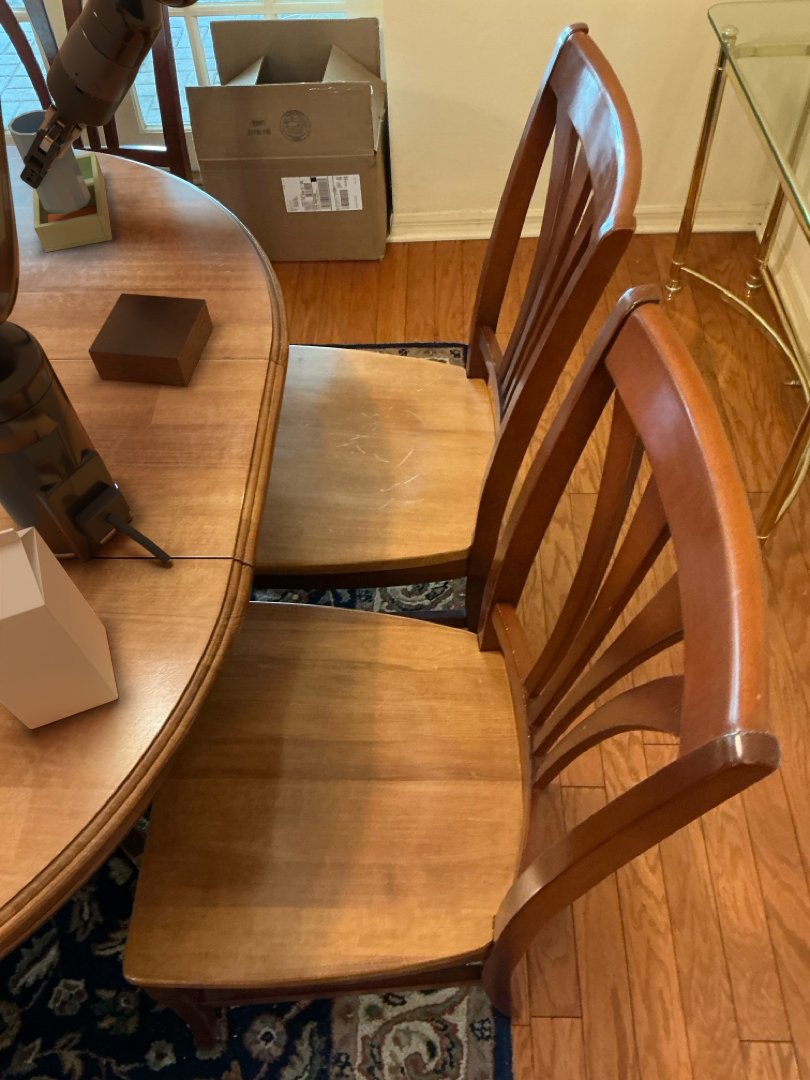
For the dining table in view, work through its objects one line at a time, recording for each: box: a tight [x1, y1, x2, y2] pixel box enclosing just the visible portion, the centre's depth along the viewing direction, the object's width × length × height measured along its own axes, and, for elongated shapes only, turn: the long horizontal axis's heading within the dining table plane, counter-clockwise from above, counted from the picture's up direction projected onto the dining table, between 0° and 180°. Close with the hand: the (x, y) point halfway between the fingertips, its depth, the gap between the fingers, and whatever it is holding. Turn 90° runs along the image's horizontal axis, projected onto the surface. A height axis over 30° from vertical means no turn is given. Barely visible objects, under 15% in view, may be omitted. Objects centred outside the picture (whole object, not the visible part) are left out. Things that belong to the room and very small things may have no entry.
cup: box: [7, 109, 91, 214], centre depth 96 cm, size 6×6×10 cm
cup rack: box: [32, 152, 113, 253], centre depth 104 cm, size 9×16×4 cm, turn 17°
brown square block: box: [87, 292, 214, 387], centre depth 86 cm, size 10×10×4 cm
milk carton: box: [0, 527, 119, 730], centre depth 56 cm, size 7×7×19 cm
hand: (40, 167), depth 96 cm, fingers closed on cup, 6 cm apart
